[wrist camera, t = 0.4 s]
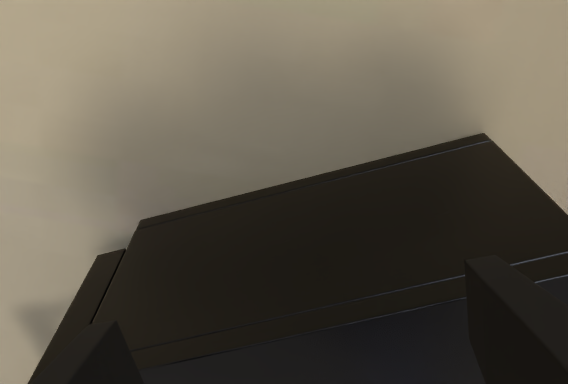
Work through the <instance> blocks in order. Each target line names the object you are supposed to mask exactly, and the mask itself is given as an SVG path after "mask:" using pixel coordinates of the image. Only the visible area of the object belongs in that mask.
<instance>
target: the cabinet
mask: <svg viewBox="0 0 568 384" xmlns="http://www.w3.org/2000/svg"><path fill="white" fill-rule="evenodd" d="M492 255H496V256H498V257H499V258H501V259H502V260H503V261H505V262H506V263H508V264H509V265H511V266H512V267H513V268H515V269H516V270H518V271H519V272H520V273H522V274H523V275H525V276H526V277H527V278H529V279H530V280H532V281H533V282H534V283H536V284H537V285H539V286H540V287H542V288H543V289H544V290H546V291H547V292H549V293H550V294H552V295H553V296H555V297H556V298H558V299H559V300H560V301H562V302H563V303H565V304H567V305H568V215H567V214H566V213H565V212H564V211H563V210H562V209H561V208H560V207H559V206H558V205H557V204H556V203H555V202H554V201H553V200H552V199H551V198H550V197H549V196H548V195H547V194H546V193H545V192H544V191H543V190H542V189H541V188H540V187H539V186H538V185H537V184H536V183H535V182H534V181H533V180H532V179H531V178H530V177H529V176H528V175H527V174H526V173H525V172H524V171H523V170H522V169H521V168H520V167H519V166H518V165H517V164H516V163H515V162H514V161H513V160H512V159H511V158H509V157H508V156H507V155H506V154H505V153H504V152H503V151H502V150H501V149H500V148H499V147H498V146H497V145H496V144H495V143H494V142H493V141H491V139H490V138H489V137H488V136H487V135H486V134H485V133H482V134H478V135H474V136H470V137H466V138H462V139H458V140H454V141H450V142H446V143H442V144H438V145H434V146H430V147H427V148H423V149H419V150H415V151H411V152H407V153H403V154H399V155H395V156H391V157H387V158H383V159H379V160H375V161H371V162H368V163H364V164H360V165H356V166H352V167H348V168H344V169H340V170H336V171H332V172H328V173H324V174H320V175H316V176H312V177H309V178H305V179H301V180H297V181H293V182H289V183H285V184H281V185H277V186H273V187H269V188H265V189H261V190H257V191H253V192H250V193H246V194H242V195H238V196H234V197H230V198H226V199H222V200H218V201H214V202H210V203H206V204H202V205H198V206H194V207H191V208H187V209H183V210H179V211H175V212H171V213H167V214H163V215H159V216H155V217H151V218H147V219H143V220H141V221H140V222H139V224H138V227H137V229H136V231H135V232H134V235H133V237H132V239H131V241H130V243H129V245H128V247H127V250H126V252H125V254H124V256H123V258H122V260H121V262H120V265H119V267H118V269H117V271H116V273H115V275H114V278H113V280H112V282H111V284H110V286H109V288H108V290H107V293H106V295H105V297H104V299H103V301H102V303H101V305H100V308H99V310H98V312H97V314H96V316H95V318H94V320H93V323H92V324H96V323H102V322H108V321H114V320H117V322H118V325H119V327H120V329H121V331H122V334H123V336H124V338H125V341H126V343H127V345H128V348H129V350H130V352H131V354H132V357H133V359H134V361H135V364H136V366H137V368H138V371H139V373H140V375H141V377H142V380H143V382H144V384H486V383H485V380H484V378H483V375H482V373H481V370H480V367H479V365H478V362H477V359H476V357H475V354H474V351H473V348H472V346H471V343H470V340H469V331H468V314H467V298H466V282H465V265H464V260H468V259H474V258H480V257H486V256H492Z"/></svg>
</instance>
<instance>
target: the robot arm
mask: <svg viewBox="0 0 568 384" xmlns="http://www.w3.org/2000/svg"><path fill="white" fill-rule="evenodd" d="M464 265H465V282H466V298H467V314H468V331H469V340H470V343H471V346H472V348H473V351H474V354H475V357H476V359H477V362H478V365H479V367H480V370H481V373H482V375H483V378H484V380H485V383H486V384H568V305H567V304H565V303H563V302H562V301H560V300H559V299H558V298H556V297H555V296H553V295H552V294H550V293H549V292H547V291H546V290H544V289H543V288H542V287H540V286H539V285H537V284H536V283H534V282H533V281H532V280H530V279H529V278H527V277H526V276H525V275H523V274H522V273H520V272H519V271H518V270H516V269H515V268H513V267H512V266H511V265H509V264H508V263H506V262H505V261H503V260H502V259H501V258H499V257H498V256H496V255H492V256H486V257H480V258H474V259H468V260H464ZM30 384H144V382H143V380H142V377H141V375H140V373H139V371H138V368H137V366H136V364H135V361H134V359H133V357H132V354H131V352H130V350H129V348H128V345H127V343H126V341H125V338H124V336H123V334H122V331H121V329H120V327H119V325H118V322H117V320H114V321H108V322H102V323H96V324H90V325H88V326H87V327H86V328H85V329H84V330H83V331H81V332H80V333H79V334H78V335H77V336H76V337H75V338H74V339H73V340H72V341H71V342H70V343H69V344H68V345H67V346H66V347H65V348H64V349H63V350H62V351H61V352H60V353H59V354H58V356H57V357H56V358H55V359H54V360H53V361H52V362H51V363H50V364H49V365H48V366H47V367H46V368H45V369H44V370H43V371H42V372H41V373H40V374H39V375H38V376H37V377H36V378H35V379H34V380H33V381H32V382H31V383H30Z"/></svg>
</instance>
